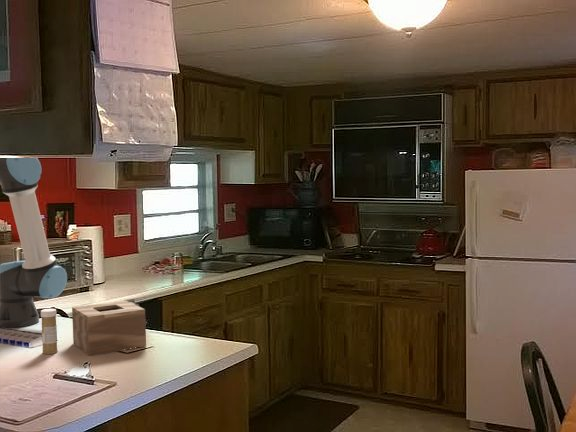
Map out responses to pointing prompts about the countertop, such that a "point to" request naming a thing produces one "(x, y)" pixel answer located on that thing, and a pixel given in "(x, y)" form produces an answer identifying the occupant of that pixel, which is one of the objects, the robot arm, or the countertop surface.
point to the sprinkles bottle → (49, 331)
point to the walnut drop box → (108, 327)
